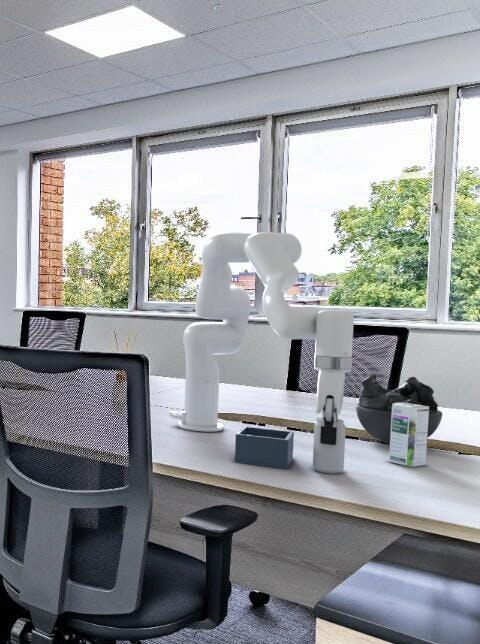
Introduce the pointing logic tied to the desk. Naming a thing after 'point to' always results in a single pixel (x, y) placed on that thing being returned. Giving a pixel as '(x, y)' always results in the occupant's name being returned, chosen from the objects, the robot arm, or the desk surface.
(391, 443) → the syrup box
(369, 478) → the desk surface
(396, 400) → the bowl of black rocks
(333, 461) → the beverage can
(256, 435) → the desk bin
